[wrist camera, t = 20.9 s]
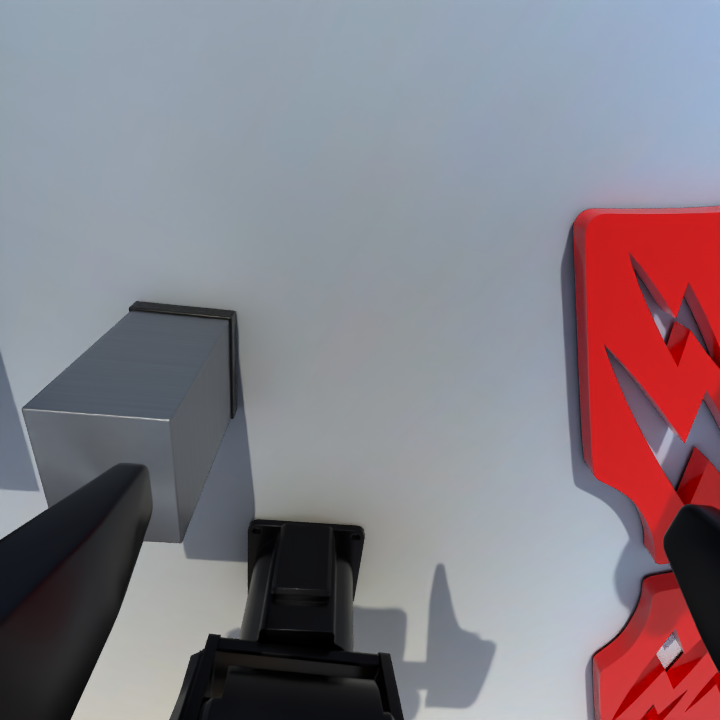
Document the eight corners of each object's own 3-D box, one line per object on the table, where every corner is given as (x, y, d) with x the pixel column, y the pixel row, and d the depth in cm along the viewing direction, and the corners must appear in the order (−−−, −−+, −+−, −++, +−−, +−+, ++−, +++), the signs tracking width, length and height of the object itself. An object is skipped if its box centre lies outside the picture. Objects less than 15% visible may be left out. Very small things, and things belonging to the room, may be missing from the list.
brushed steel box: (236, 410, 22) (185, 546, 15) (148, 402, 22) (52, 538, 15) (236, 310, 20) (173, 417, 13) (136, 300, 19) (15, 404, 12)
